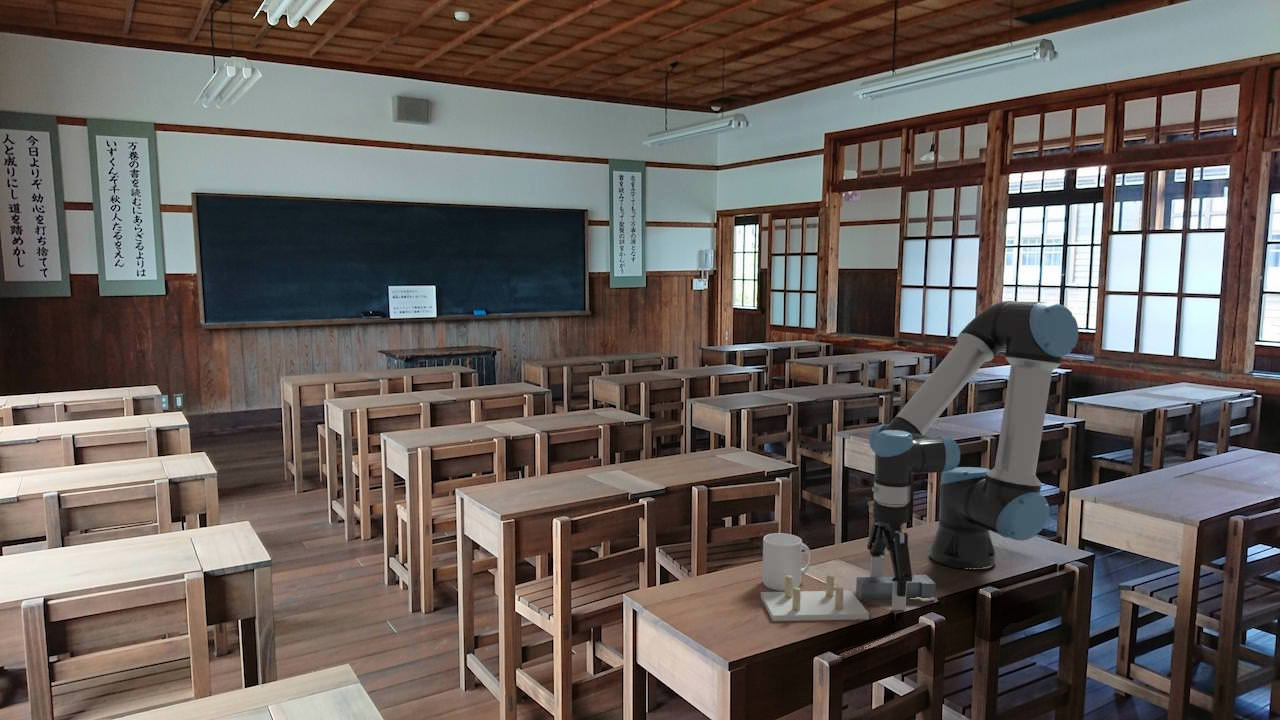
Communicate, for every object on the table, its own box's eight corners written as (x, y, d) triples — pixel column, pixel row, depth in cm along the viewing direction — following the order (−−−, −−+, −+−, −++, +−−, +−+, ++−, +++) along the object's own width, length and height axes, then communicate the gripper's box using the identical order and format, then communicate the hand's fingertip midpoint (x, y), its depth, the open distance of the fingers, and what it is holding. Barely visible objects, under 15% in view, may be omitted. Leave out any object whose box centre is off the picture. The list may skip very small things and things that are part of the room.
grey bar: (925, 592, 178) (926, 574, 178) (934, 601, 173) (935, 583, 173) (854, 593, 177) (855, 576, 177) (862, 602, 172) (863, 584, 172)
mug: (820, 586, 181) (822, 541, 179) (774, 594, 176) (775, 547, 175) (800, 573, 189) (801, 529, 187) (755, 580, 184) (756, 535, 183)
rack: (850, 595, 176) (851, 570, 175) (869, 619, 164) (869, 592, 163) (760, 597, 174) (761, 572, 174) (772, 621, 163) (773, 594, 162)
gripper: (855, 487, 185) (852, 575, 187) (895, 520, 160) (890, 621, 162) (887, 486, 185) (883, 574, 188) (932, 519, 160) (927, 620, 163)
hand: (886, 596), depth 175 cm, fingers open, 13 cm apart
